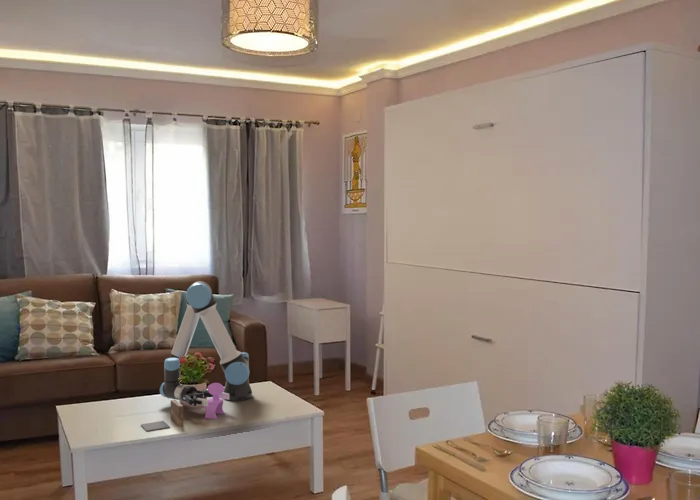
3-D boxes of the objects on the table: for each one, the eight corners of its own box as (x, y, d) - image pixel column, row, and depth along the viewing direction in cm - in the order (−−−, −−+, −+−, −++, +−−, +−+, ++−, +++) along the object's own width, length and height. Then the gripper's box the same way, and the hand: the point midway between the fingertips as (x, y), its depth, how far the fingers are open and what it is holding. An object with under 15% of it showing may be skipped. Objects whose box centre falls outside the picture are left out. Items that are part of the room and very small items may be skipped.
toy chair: (202, 418, 305) (201, 385, 304) (210, 412, 313) (209, 381, 313) (218, 419, 303) (218, 386, 302) (226, 414, 311) (226, 382, 311)
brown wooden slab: (175, 419, 303) (175, 399, 303) (183, 425, 293) (183, 405, 293) (170, 419, 302) (170, 400, 302) (178, 426, 292) (178, 406, 292)
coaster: (163, 422, 298) (163, 420, 298) (169, 427, 290) (169, 426, 290) (140, 425, 293) (140, 424, 293) (146, 431, 285) (146, 430, 285)
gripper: (205, 395, 328) (237, 401, 317) (166, 407, 307) (198, 414, 296) (205, 380, 328) (237, 386, 316) (165, 391, 307) (198, 397, 295)
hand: (218, 399), depth 306 cm, fingers open, 13 cm apart
